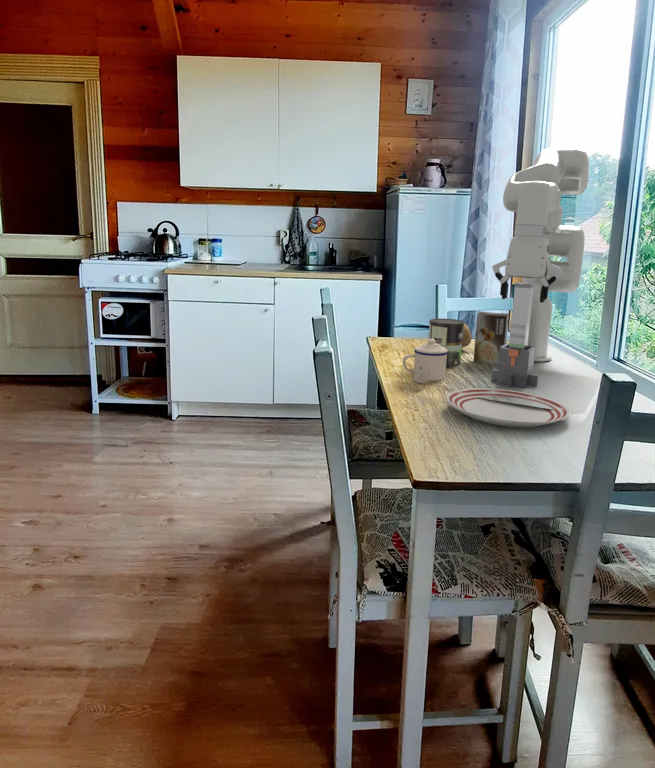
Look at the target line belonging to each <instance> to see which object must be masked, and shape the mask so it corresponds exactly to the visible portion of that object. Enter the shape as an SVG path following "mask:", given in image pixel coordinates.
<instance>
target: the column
mask: <svg viewBox="0 0 655 768" xmlns="http://www.w3.org/2000/svg"><path fill="white" fill-rule="evenodd" d="M533 291H534V283H523V282H522V281H521V282H520V281H518V282H515V283H514V291H513V292H514V293H513V300H512V302H513V303H512V308H511V310H512V311H511V321H510V330H509V338H508V339H509V340H508V343H509V348H512V349H520V350H527V344H528V335H529V326H530V317H531V308H532V299H533Z"/></svg>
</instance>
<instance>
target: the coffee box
mask: <svg viewBox="0 0 655 768" xmlns="http://www.w3.org/2000/svg"><path fill="white" fill-rule="evenodd" d="M509 315H510V314H509V313H503V312H502V313H501V312H488V311H479V312H477V314H476V321H475V322H476V324H475V336H474V337H475V339H474V351H473V362H476V363H480V364H482V363H483V364H491V365H497V366H498V363H499V353H500V347H502V346H503V345H505V344H506V343H507V342H508V341H507V340H508V328H509V318H510V317H509Z"/></svg>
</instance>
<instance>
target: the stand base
mask: <svg viewBox="0 0 655 768" xmlns="http://www.w3.org/2000/svg"><path fill="white" fill-rule="evenodd" d="M534 355H535V346H527V350H520V349H512V348H509V342H506V344H505V345H503V346H502V347H500V353H499V363H498V365H497V369H492V371H491V381H495V382H496V385H501V386H506V388H507V389H512V388H513V387H514V388H515V387H516V388H519V389H527V388H528V386H529V387H537V388H538V383H539V375H537V374H533V372H534V363H535V361H534Z"/></svg>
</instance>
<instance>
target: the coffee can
mask: <svg viewBox="0 0 655 768" xmlns="http://www.w3.org/2000/svg"><path fill="white" fill-rule="evenodd" d="M464 323H465V321H464V320H460V319H455V318H432V319H429V327H428V330H429V331H428V340H429V339H434V340H435V343H436V344H439V345H440V346H441V347H444V348H446V349H447V351H448V354H447V359H446V371H448V370H450V369H451V368H453V367H457V366H460V365H461V364H462V363H461V362H462V350H463V348H462V341H463V328H464Z"/></svg>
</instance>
